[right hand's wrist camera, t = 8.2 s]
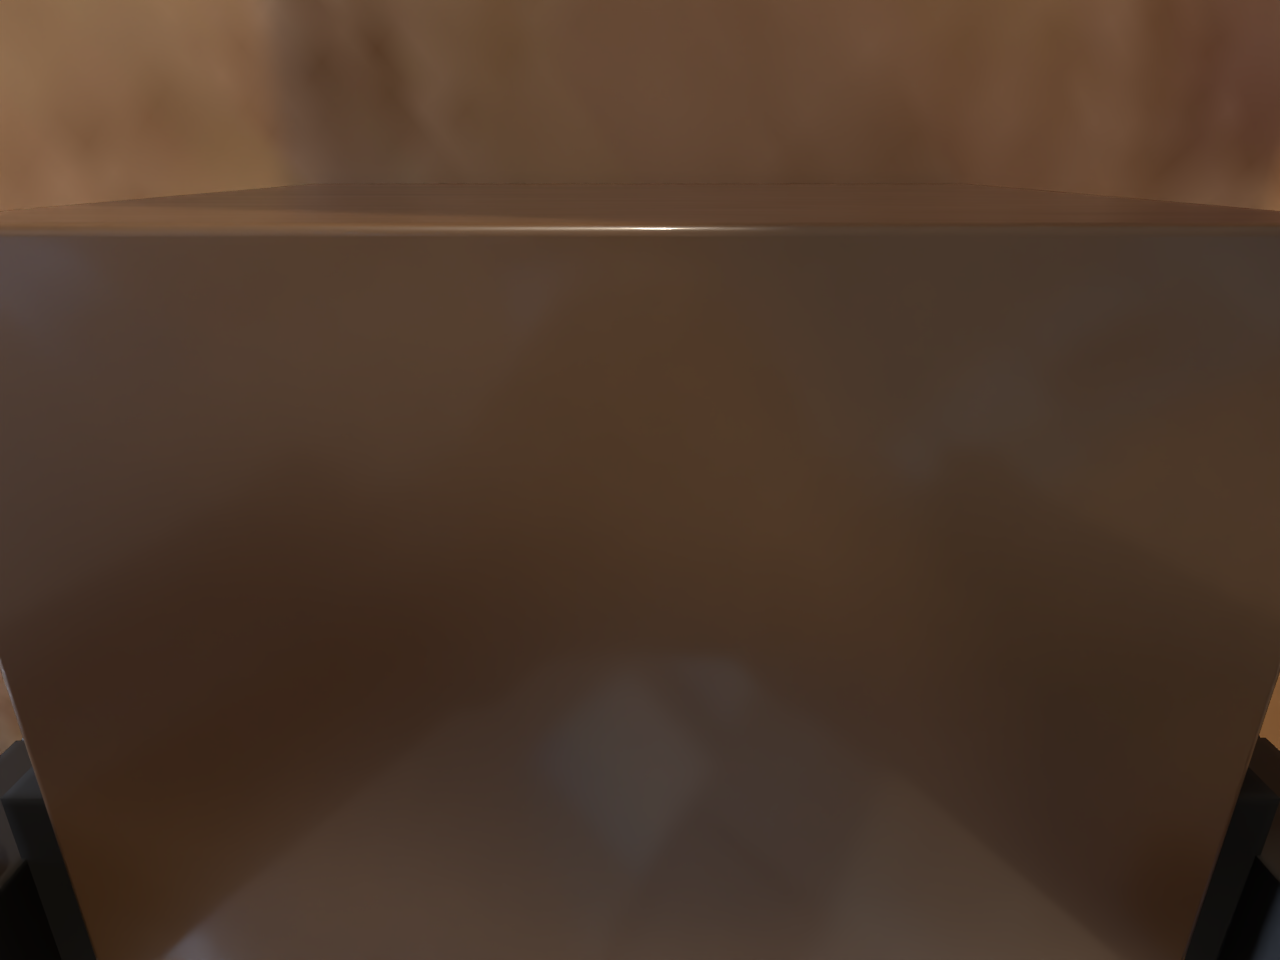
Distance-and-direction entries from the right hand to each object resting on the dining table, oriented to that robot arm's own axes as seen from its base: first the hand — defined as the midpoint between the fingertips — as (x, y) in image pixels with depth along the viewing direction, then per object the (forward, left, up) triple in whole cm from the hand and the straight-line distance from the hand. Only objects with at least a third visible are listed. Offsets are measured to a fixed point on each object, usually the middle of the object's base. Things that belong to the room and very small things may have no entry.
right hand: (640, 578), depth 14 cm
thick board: (+3, -24, 0) cm, 25 cm away
